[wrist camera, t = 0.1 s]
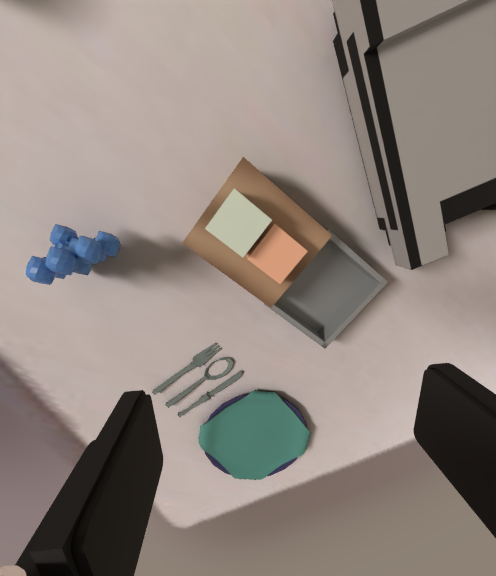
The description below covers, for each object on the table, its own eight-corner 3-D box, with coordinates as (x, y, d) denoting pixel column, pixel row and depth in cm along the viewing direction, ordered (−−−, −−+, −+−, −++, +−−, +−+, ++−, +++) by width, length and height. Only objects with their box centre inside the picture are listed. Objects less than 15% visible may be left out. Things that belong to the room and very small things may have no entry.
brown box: (240, 167, 35) (243, 157, 28) (314, 231, 38) (332, 235, 31) (190, 237, 37) (182, 243, 30) (264, 291, 40) (271, 307, 33)
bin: (318, 227, 38) (328, 229, 34) (373, 275, 41) (387, 282, 37) (261, 295, 40) (264, 304, 36) (316, 336, 43) (325, 348, 39)
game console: (381, 260, 40) (417, 272, 32) (320, 23, 31) (351, -40, 23) (507, 207, 39) (577, 206, 31) (485, -56, 30) (577, -152, 22)
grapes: (121, 205, 35) (68, 202, 24) (145, 250, 37) (107, 267, 26) (47, 237, 36) (-40, 250, 24) (75, 280, 38) (7, 310, 26)
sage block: (233, 191, 29) (234, 188, 25) (266, 218, 30) (272, 220, 26) (208, 226, 30) (204, 228, 26) (241, 252, 31) (243, 257, 27)
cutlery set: (244, 484, 53) (244, 496, 50) (143, 390, 45) (139, 399, 43) (323, 435, 50) (327, 445, 48) (232, 327, 43) (232, 333, 40)
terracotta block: (271, 222, 30) (274, 223, 28) (301, 248, 31) (307, 251, 29) (245, 255, 31) (247, 259, 29) (276, 278, 32) (280, 284, 30)
